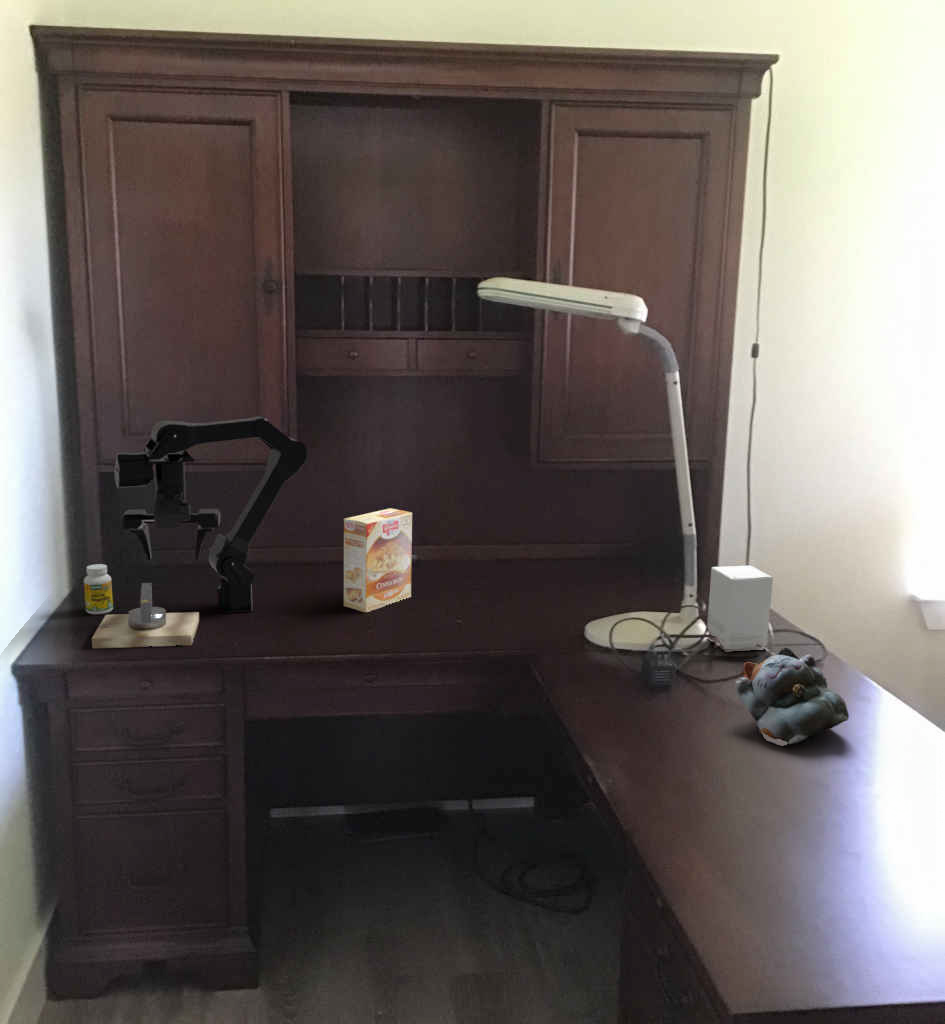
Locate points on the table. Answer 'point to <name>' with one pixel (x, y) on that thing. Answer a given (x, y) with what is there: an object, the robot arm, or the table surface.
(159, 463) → the robot arm
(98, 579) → the supplement bottle
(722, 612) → the supplement box
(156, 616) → the silver dome with handle
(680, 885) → the table surface
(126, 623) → the base plate
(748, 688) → the lucky cat figurine
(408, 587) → the coffeecake box
